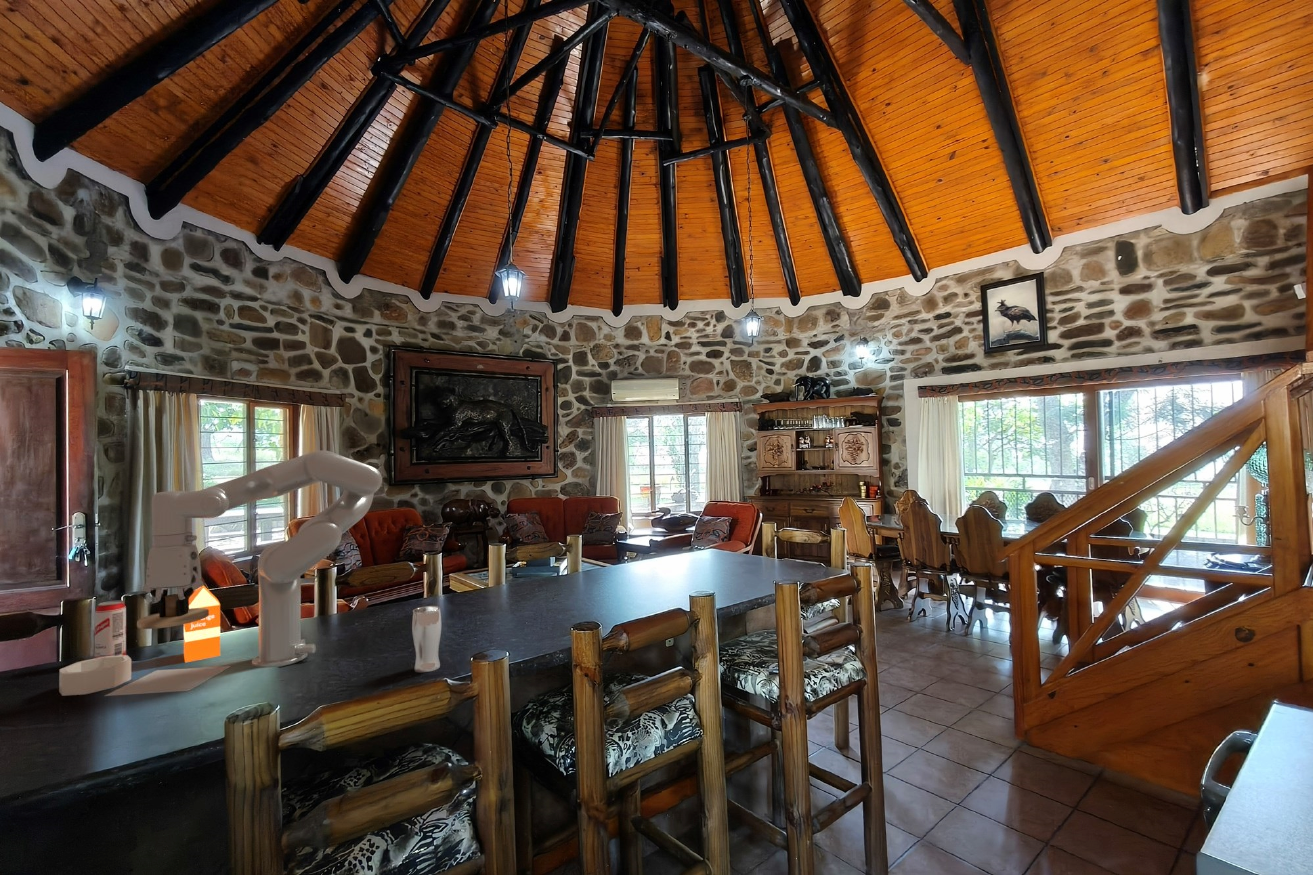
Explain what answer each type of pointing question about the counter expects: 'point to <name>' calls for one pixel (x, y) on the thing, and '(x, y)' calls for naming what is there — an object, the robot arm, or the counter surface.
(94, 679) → the bowl
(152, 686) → the mat
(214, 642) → the orange juice
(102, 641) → the beer can
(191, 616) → the lid
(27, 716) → the counter surface
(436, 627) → the beer glass
